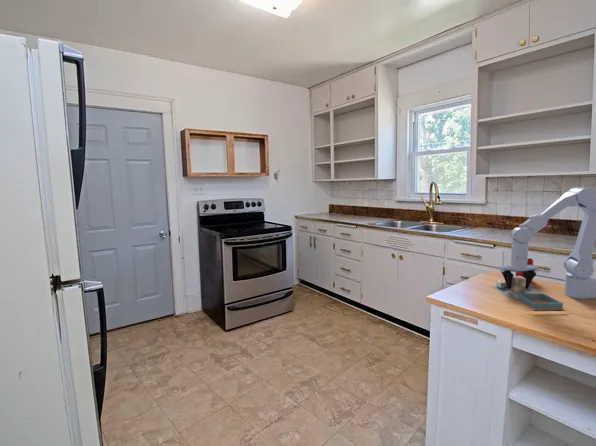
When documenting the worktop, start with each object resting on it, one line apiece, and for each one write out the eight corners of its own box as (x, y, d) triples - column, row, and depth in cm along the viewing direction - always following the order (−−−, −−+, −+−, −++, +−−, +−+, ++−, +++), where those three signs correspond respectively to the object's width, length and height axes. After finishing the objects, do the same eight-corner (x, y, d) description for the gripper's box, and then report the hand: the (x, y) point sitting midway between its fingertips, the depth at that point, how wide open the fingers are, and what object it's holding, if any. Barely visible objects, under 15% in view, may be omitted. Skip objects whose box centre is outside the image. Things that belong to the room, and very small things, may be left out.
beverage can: (512, 280, 154) (513, 255, 153) (524, 279, 155) (525, 254, 153) (522, 284, 148) (524, 258, 146) (535, 283, 149) (537, 258, 147)
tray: (543, 300, 129) (543, 293, 129) (562, 310, 119) (562, 303, 119) (517, 301, 130) (517, 293, 129) (533, 311, 120) (534, 303, 119)
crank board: (527, 287, 144) (528, 285, 144) (550, 299, 130) (550, 297, 130) (490, 288, 145) (490, 286, 144) (509, 300, 131) (509, 297, 131)
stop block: (519, 289, 139) (519, 275, 139) (525, 292, 135) (526, 278, 135) (509, 289, 140) (510, 275, 139) (515, 292, 136) (515, 278, 135)
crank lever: (525, 285, 143) (525, 279, 143) (530, 288, 140) (530, 282, 139) (496, 285, 144) (496, 279, 144) (500, 288, 140) (500, 282, 140)
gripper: (531, 253, 139) (528, 284, 141) (496, 254, 140) (494, 284, 142) (542, 257, 132) (540, 290, 134) (505, 258, 133) (503, 290, 135)
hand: (517, 287), depth 137 cm, fingers open, 6 cm apart
